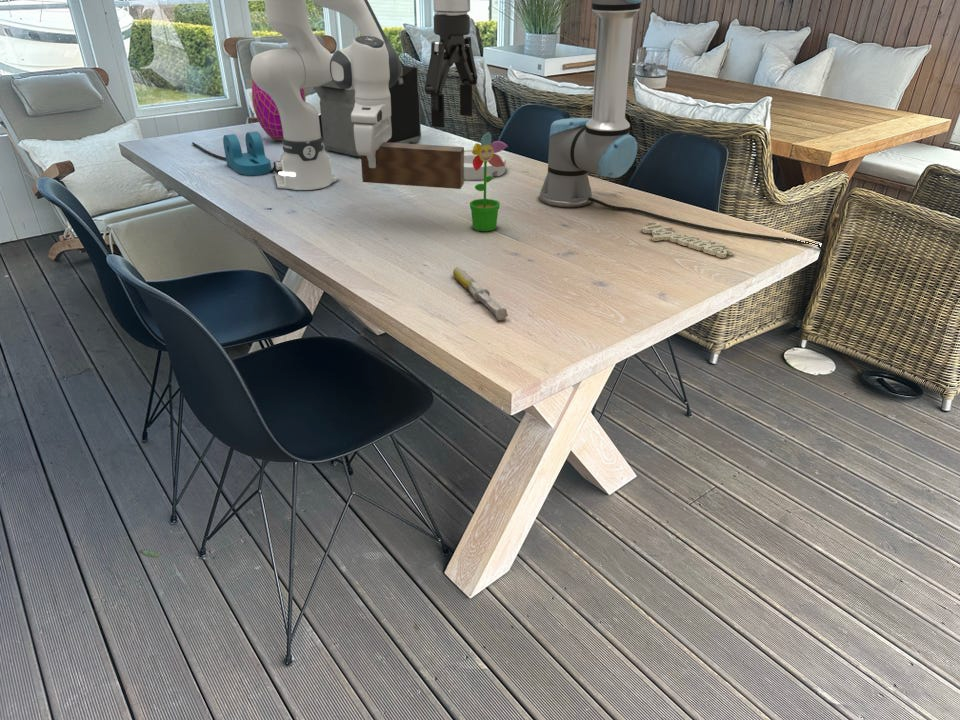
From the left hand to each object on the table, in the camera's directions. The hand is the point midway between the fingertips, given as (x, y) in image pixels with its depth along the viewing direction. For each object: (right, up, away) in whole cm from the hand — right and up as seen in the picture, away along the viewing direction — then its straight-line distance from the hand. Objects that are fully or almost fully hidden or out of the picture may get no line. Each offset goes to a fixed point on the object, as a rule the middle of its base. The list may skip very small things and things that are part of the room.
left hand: (376, 164), depth 178 cm
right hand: (+21, +2, -27) cm, 34 cm away
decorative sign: (+78, -21, -4) cm, 81 cm away
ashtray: (+24, +13, +52) cm, 59 cm away
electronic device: (-14, +30, +80) cm, 86 cm away
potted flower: (+28, -16, +4) cm, 33 cm away
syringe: (+27, -38, -33) cm, 57 cm away
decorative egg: (-49, +34, +86) cm, 105 cm away
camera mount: (-49, +13, +51) cm, 72 cm away
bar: (+10, -5, +1) cm, 11 cm away
